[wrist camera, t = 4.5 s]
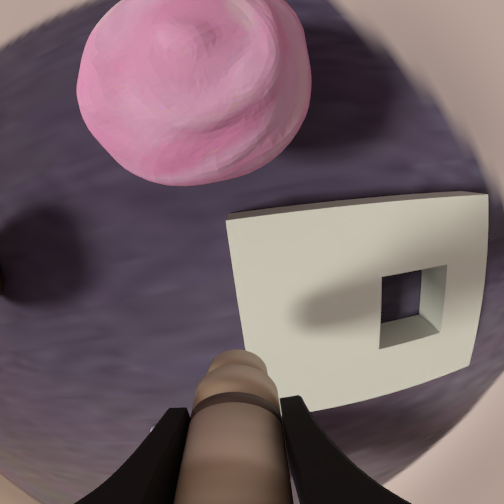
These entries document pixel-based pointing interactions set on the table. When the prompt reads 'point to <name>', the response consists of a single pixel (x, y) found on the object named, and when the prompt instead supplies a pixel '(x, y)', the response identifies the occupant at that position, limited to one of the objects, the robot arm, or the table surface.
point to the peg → (235, 437)
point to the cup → (1, 282)
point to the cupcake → (195, 86)
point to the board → (359, 291)
